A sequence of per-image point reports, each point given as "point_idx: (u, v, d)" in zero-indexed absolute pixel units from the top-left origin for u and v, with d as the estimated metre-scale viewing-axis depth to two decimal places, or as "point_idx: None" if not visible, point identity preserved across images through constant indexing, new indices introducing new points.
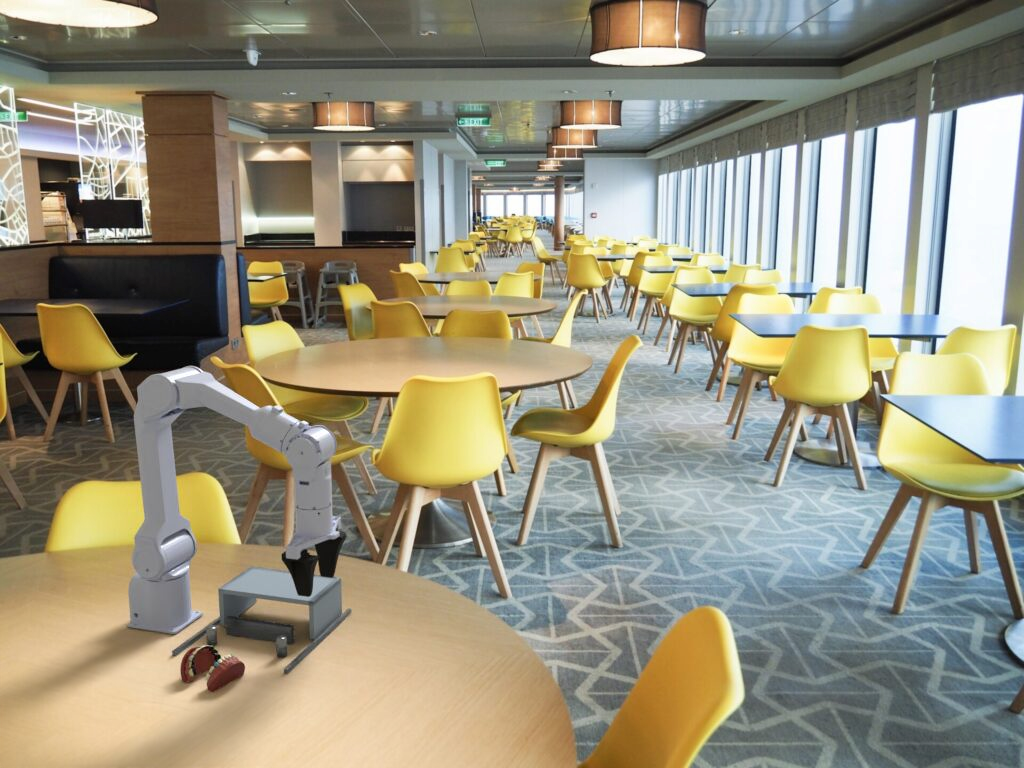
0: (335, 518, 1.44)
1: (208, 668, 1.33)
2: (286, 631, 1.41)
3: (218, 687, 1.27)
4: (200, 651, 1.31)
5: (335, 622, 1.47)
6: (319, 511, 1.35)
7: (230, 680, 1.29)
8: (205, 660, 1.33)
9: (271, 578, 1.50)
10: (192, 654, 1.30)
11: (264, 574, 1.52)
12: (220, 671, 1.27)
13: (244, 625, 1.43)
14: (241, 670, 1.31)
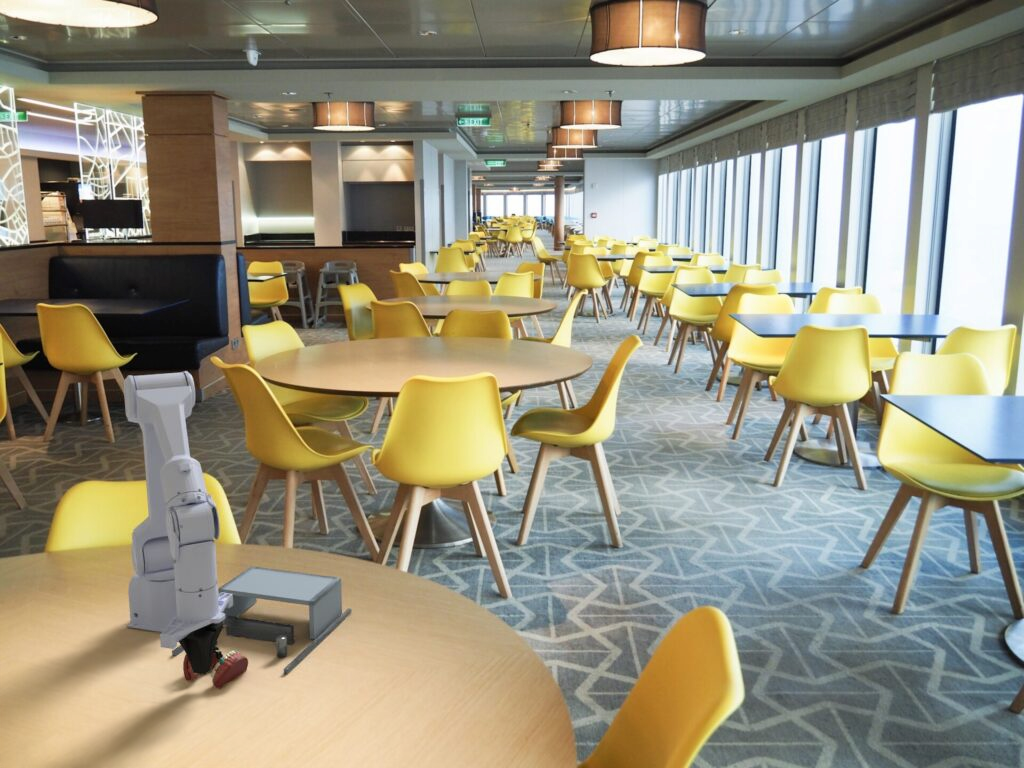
0: (226, 595, 1.32)
1: None
2: (286, 631, 1.41)
3: (224, 683, 1.28)
4: None
5: (335, 622, 1.47)
6: (200, 593, 1.23)
7: (235, 676, 1.30)
8: None
9: (271, 578, 1.50)
10: None
11: (264, 574, 1.52)
12: (226, 667, 1.28)
13: (244, 625, 1.43)
14: (245, 666, 1.32)
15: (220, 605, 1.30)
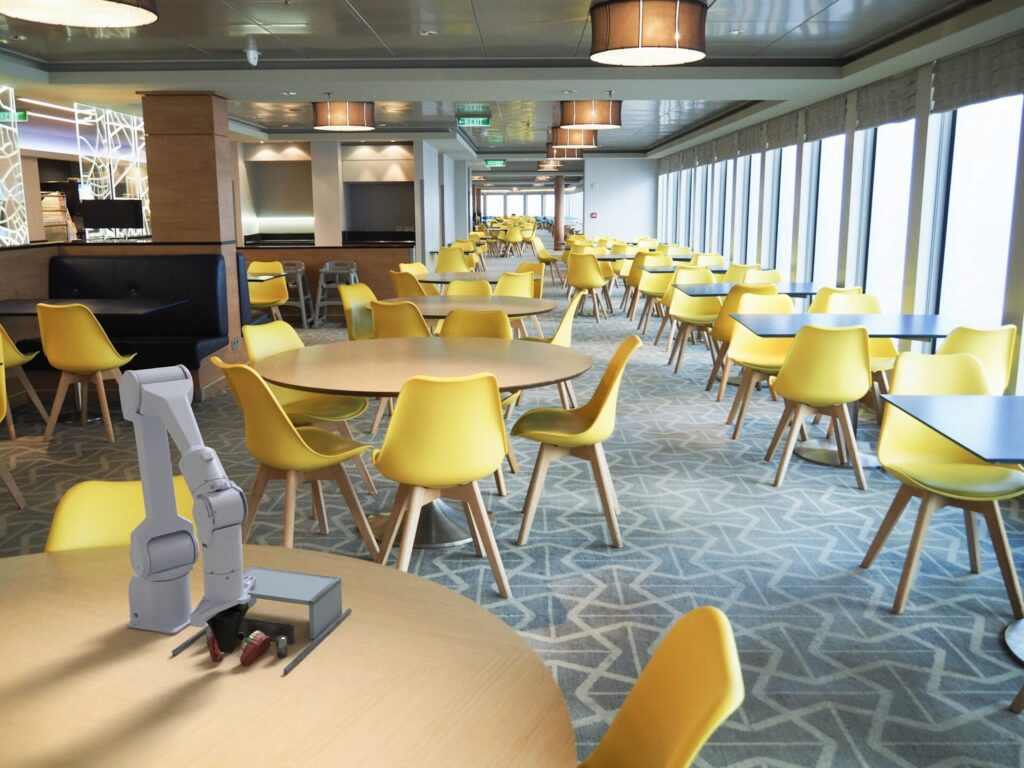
0: (250, 578, 1.39)
1: None
2: (286, 631, 1.41)
3: (251, 661, 1.35)
4: None
5: (335, 622, 1.47)
6: (227, 575, 1.29)
7: (260, 655, 1.37)
8: None
9: (271, 578, 1.50)
10: None
11: (264, 574, 1.52)
12: (253, 646, 1.34)
13: (244, 625, 1.43)
14: (268, 645, 1.39)
15: (245, 587, 1.36)
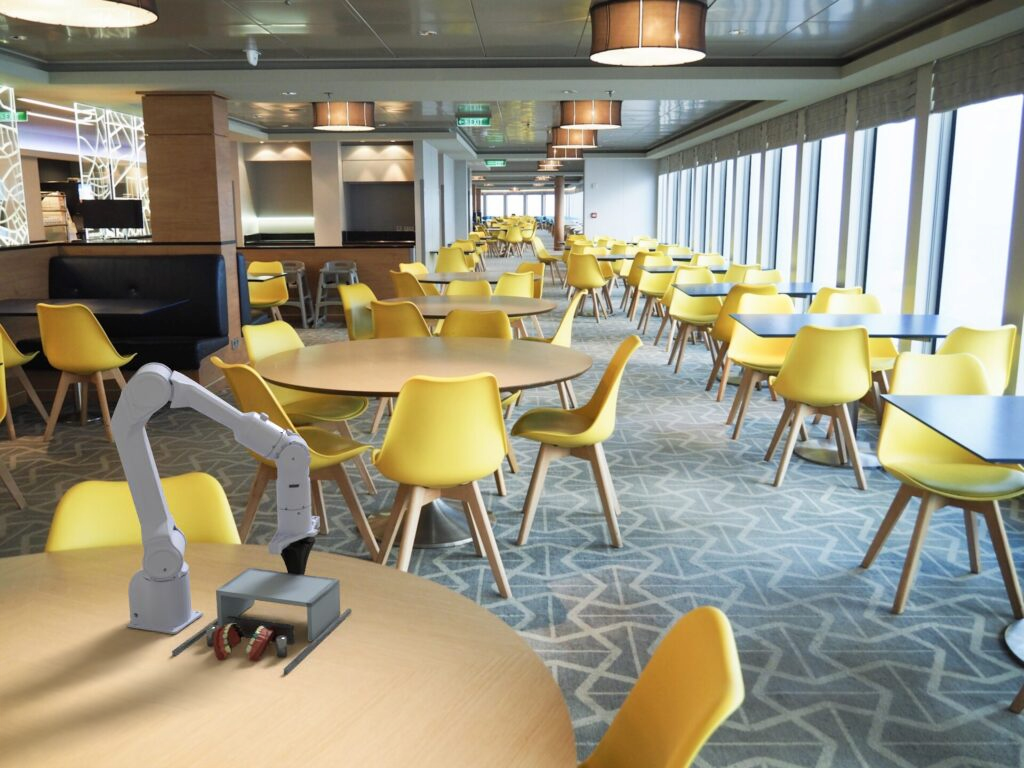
0: (314, 517, 1.59)
1: (233, 645, 1.40)
2: (286, 631, 1.41)
3: (260, 656, 1.36)
4: (228, 629, 1.38)
5: (335, 622, 1.47)
6: (299, 511, 1.49)
7: (265, 649, 1.39)
8: (229, 638, 1.40)
9: (269, 579, 1.50)
10: (224, 632, 1.37)
11: (262, 575, 1.51)
12: (261, 641, 1.36)
13: (244, 625, 1.43)
14: (271, 639, 1.41)
15: None
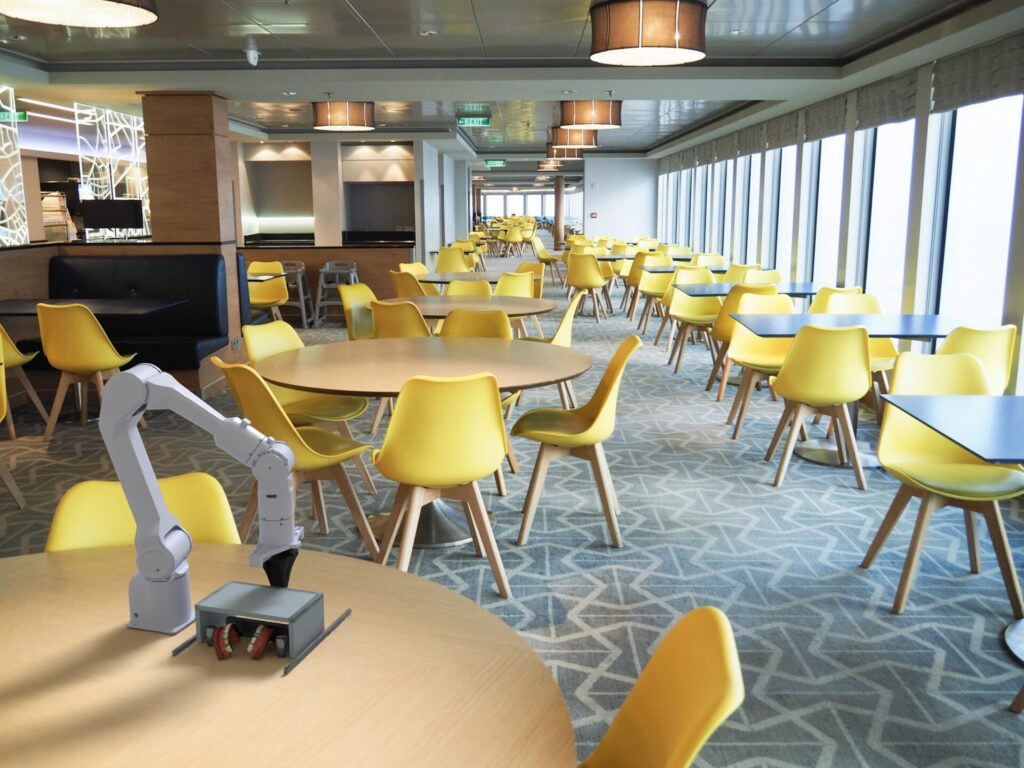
0: (298, 528, 1.53)
1: (232, 645, 1.40)
2: (286, 631, 1.41)
3: (261, 655, 1.37)
4: (227, 629, 1.38)
5: (335, 622, 1.47)
6: (281, 522, 1.43)
7: (265, 648, 1.39)
8: (229, 638, 1.40)
9: (250, 593, 1.44)
10: (224, 632, 1.37)
11: (243, 589, 1.46)
12: (262, 639, 1.37)
13: (244, 625, 1.43)
14: (270, 638, 1.41)
15: (294, 535, 1.50)
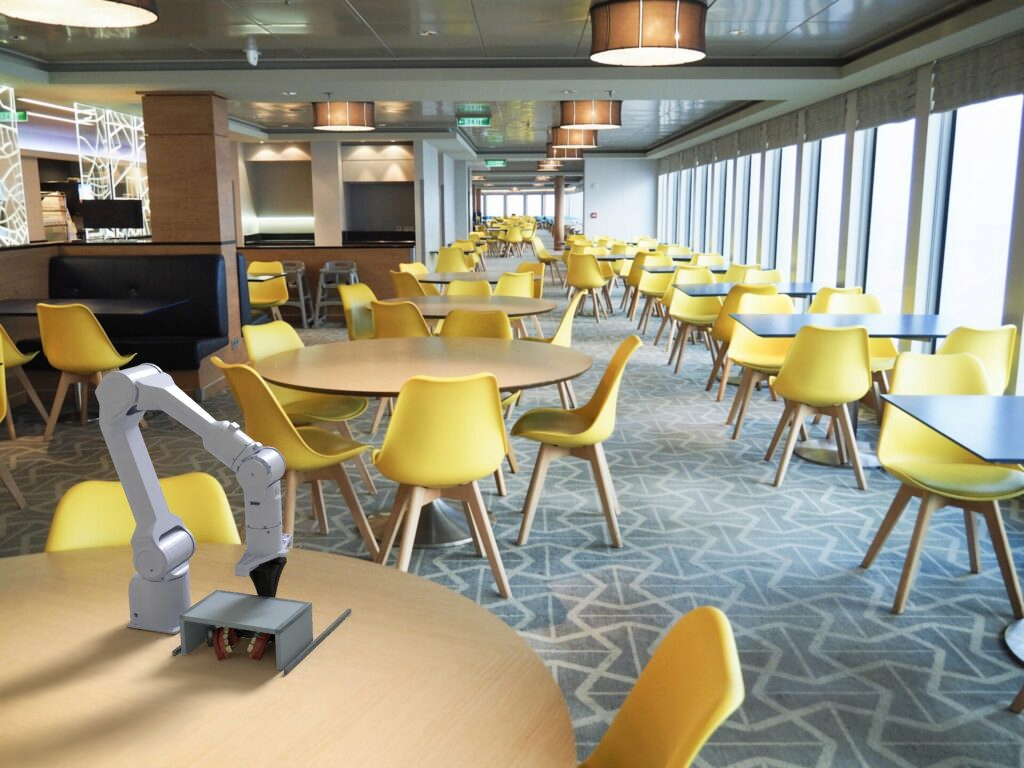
0: (287, 535, 1.49)
1: (232, 645, 1.40)
2: None
3: (261, 655, 1.37)
4: (227, 629, 1.38)
5: (335, 622, 1.47)
6: (268, 530, 1.40)
7: (265, 648, 1.39)
8: (228, 638, 1.40)
9: (237, 603, 1.40)
10: (224, 632, 1.37)
11: (230, 598, 1.42)
12: (263, 639, 1.37)
13: None
14: (270, 638, 1.41)
15: (283, 543, 1.46)
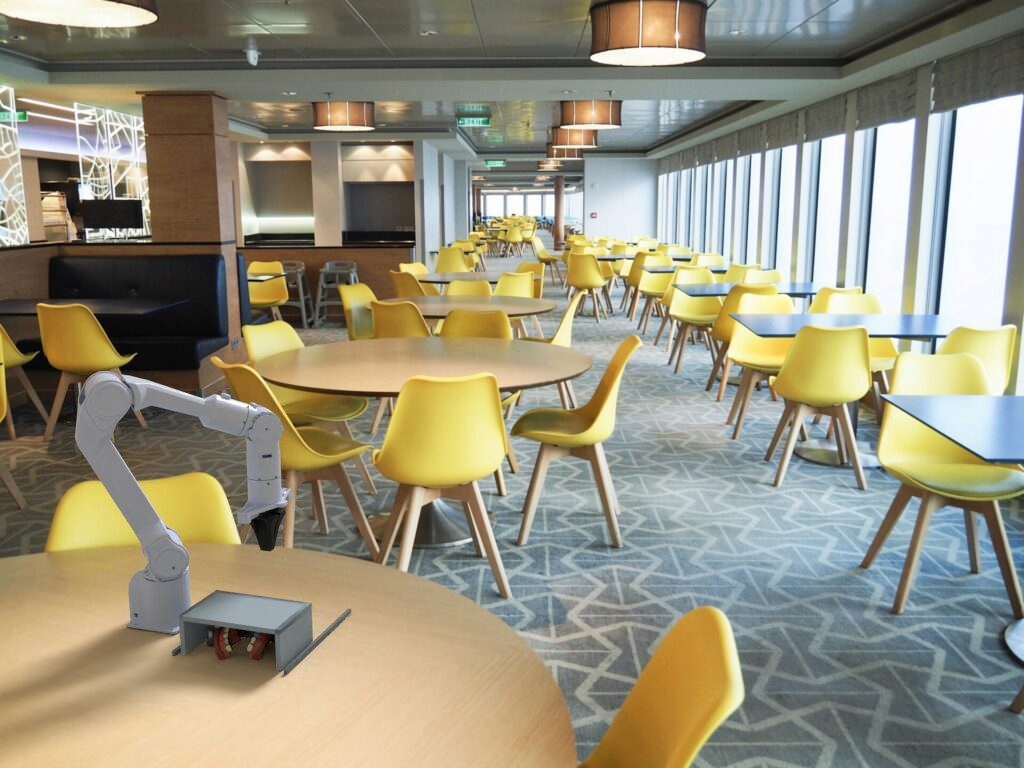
0: (286, 490, 1.60)
1: (233, 644, 1.40)
2: None
3: (261, 655, 1.37)
4: None
5: (335, 622, 1.47)
6: (268, 482, 1.50)
7: (265, 648, 1.39)
8: (229, 637, 1.40)
9: (236, 603, 1.40)
10: (225, 632, 1.37)
11: (229, 599, 1.42)
12: (262, 639, 1.37)
13: None
14: (271, 638, 1.41)
15: (282, 496, 1.57)
